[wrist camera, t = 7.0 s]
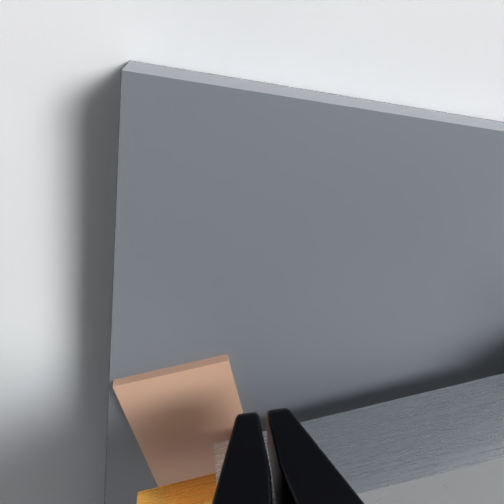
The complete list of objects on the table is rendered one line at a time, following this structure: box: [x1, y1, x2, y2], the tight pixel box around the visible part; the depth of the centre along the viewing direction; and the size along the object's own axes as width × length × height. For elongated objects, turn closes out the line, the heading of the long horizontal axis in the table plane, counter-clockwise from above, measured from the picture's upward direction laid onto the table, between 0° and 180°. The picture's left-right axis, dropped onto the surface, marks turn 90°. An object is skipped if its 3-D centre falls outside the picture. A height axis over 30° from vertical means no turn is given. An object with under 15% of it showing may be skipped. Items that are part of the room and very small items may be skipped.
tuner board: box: [104, 61, 504, 504], centre depth 13 cm, size 20×18×1 cm
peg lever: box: [137, 373, 504, 504], centre depth 10 cm, size 13×4×2 cm, turn 101°
